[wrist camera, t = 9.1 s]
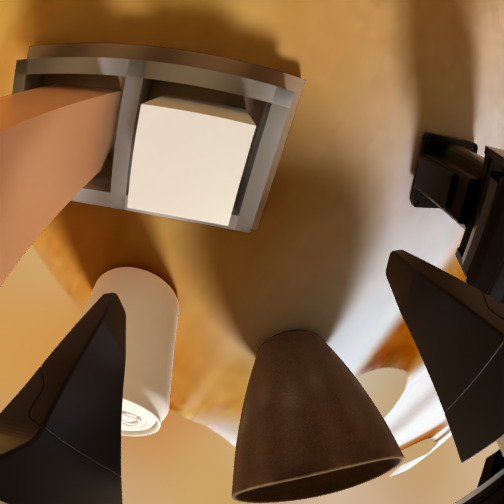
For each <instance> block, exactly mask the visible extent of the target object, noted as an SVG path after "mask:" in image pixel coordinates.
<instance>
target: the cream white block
mask: <svg viewBox="0 0 504 504" xmlns="http://www.w3.org/2000/svg"><path fill="white" fill-rule="evenodd" d="M255 128H256V125H255V123H254V122H253V120H252V118H251V117H250V115H249V114H248V112H247V110H245V109H241V108H237V107H232V106H228V105H223V104H219V103H214V102H209V101H204V100H198V99H193V98H187V97H182V96H175V95H169V94H165V95H163V96H160V97H157V98H155V99H152V100H150V101H147V102H145V103H143V104H141V108H140V113H139V119H138V125H137V131H136V137H135V144H134V151H133V158H132V166H131V174H130V183H129V193H128V204H127V208H132V209H137V210H143V211H149V212H154V213H160V214H165V215H171V216H176V217H182V218H187V219H193V220H198V221H203V222H209V223H214V224H219V225H225V226H228V224H229V221H230V217H231V213H232V210H233V206H234V202H235V199H236V195H237V191H238V188H239V184H240V180H241V177H242V173H243V170H244V166H245V163H246V159H247V156H248V152H249V149H250V145H251V142H252V138H253V135H254V131H255Z"/></svg>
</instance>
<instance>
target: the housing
mask: <svg viewBox="0 0 504 504" xmlns="http://www.w3.org/2000/svg"><path fill="white" fill-rule="evenodd" d="M305 81H306V80H305V79H302V78H299V77H296V76H293V75H290V74H286V73H283V72H280V71H276V70H273V69H269V68H266V67H262V66H258V65H254V64H251V63H247V62H242V61H238V60H234V59H229V58H225V57H220V56H215V55H210V54H204V53H199V52H193V51H186V50H180V49H172V48H164V47H156V46H145V45H133V44H116V43H65V44H48V45H36V46H29V51H28V56H27V59H25V60H17V63H16V69H15V76H14V84H13V93H12V94H15V93H18V92H22V91H27V90H31V89H35V88H40V87H45V86H50V85H55V84H60V85H74V86H85V87H95V88H104V89H112V90H119V91H121V95H120V99H119V104H118V109H117V114H116V119H115V124H114V130H113V135H112V141H111V148H110V154H109V161H108V164H107V165H106V166H105V167H104V168H103V169H102V170H101V171H100V172H99V173H98V174H97V175H96V176H94V177H93V178H92V179H91V180H90V181H89V182H88V183H87V184H86V185H85V186H84V187H83V188H82V189H81V190H80V191H79V192H78V193H77V194H76V195H75V196H74V198H73V199H72V200H71V201H75V202H81V203H87V204H93V205H99V206H105V207H110V208H116V209H122V210H128V211H133V212H139V213H145V214H150V215H156V216H162V217H167V218H173V219H178V220H184V221H189V222H194V223H200V224H205V225H210V226H216V227H221V228H226V229H232V230H237V231H242V232H247V233H250V232H251V229H255V230H257V229H258V226H259V223H260V220H261V216H262V213H263V210H264V207H265V204H266V201H267V198H268V195H269V192H270V189H271V185H272V182H273V179H274V176H275V173H276V170H277V167H278V164H279V161H280V158H281V155H282V151H283V148H284V145H285V142H286V139H287V136H288V133H289V130H290V127H291V124H292V121H293V118H294V114H295V111H296V108H297V105H298V102H299V99H300V96H301V93H302V90H303V87H304V84H305ZM165 94H169V95H175V96H182V97H187V98H193V99H198V100H204V101H209V102H214V103H219V104H223V105H228V106H232V107H237V108H241V109H245V110H247V112H248V114H249V115H250V117H251V118H252V120H253V122H254V123H255V125H256V128H255V131H254V135H253V138H252V142H251V145H250V149H249V152H248V156H247V159H246V163H245V166H244V170H243V173H242V177H241V180H240V184H239V188H238V191H237V195H236V199H235V202H234V206H233V210H232V213H231V217H230V221H229V224H228V226H225V225H219V224H214V223H209V222H203V221H198V220H193V219H187V218H182V217H176V216H171V215H165V214H160V213H154V212H149V211H143V210H137V209H132V208H127V204H128V193H129V183H130V174H131V166H132V158H133V151H134V144H135V137H136V131H137V125H138V119H139V113H140V108H141V104H143V103H145V102H147V101H150V100H152V99H155V98H157V97H160V96H163V95H165Z"/></svg>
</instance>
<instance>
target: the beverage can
mask: <svg viewBox="0 0 504 504" xmlns="http://www.w3.org/2000/svg"><path fill="white" fill-rule="evenodd" d="M112 292H114V293H116V294H117V295H118V297H119V299H120V301H121V303H122V305H123V308H124V310H125V313H126V363H125V375H124V387H123V402H122V422H121V435H126V436H145V435H150V434H153V433H155V432H157V431H158V430H159V429H160V426H161V421H163V420H164V418H165V417H166V416H167V414H168V411H169V402H170V390H171V378H172V367H173V357H174V348H175V338H176V330H177V321H178V313H179V303H178V300H177V297H176V295H175V293H174V291H173V290H172V289H171V287H170V286H169V285H168V284H167V283H166V282H165V281H164V280H162V279H161V278H160V277H158V276H156V275H155V274H153V273H151V272H148V271H146V270H143V269H139V268H134V267H120V268H115V269H112V270H109V271H107V272H105V273H104V274H103V275H101V276H100V277H99V279H98V280H97V282H96V284H95V286H94V288H93V290H92V292H91V295H90V297H89V299H88V301H87V304H86V306H85V308H84V311H83V313H82V316H81V318H82V317H83V316H84V315H85V314H86V313H87V311H88V310H89V309H90V308H91V307H92V306H93V305H94V304H95V303H96V302H97V300H98V299H99V298H100V297H101V296H102V295H103V294H105V293H112ZM81 318H80V319H81Z"/></svg>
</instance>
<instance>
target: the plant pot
mask: <svg viewBox="0 0 504 504" xmlns="http://www.w3.org/2000/svg"><path fill="white" fill-rule="evenodd" d="M403 461H404V456H403V454H402V452H401V450H400V448H399V446H398V444H397V442H396V440H395V438H394V437H393V435H392V433H391V431H390V429H389V427H388V426H387V424H386V422H385V420H384V419H383V417H382V415H381V414H380V412H379V411H378V409H377V407H376V406H375V405H374V403H373V401H372V400H371V398H370V397H369V395H368V394H367V393H366V391H365V390H364V388H363V387H362V386H361V384H360V383H359V381H358V380H357V379H356V377H355V376H354V375H353V373H352V372H351V371H350V370H349V368H348V367H347V366H346V365H345V363H344V362H343V361H342V360H341V359H340V358H339V357H338V355H337V354H336V353H335V352H334V351H333V350H332V349H331V348H330V347H329V346H328V345H327V344H326V343H325V342H324V341H323V340H322V338H321V337H319V336H318V335H317V334H315V333H313V332H309V331H302V330H296V331H289V332H284V333H281V334H278V335H276V336H274V337H272V338H270V339H269V340H267V341H266V342H265V343H264V344H263V345H262V346H261V347H260V349H259V351H258V354H257V357H256V359H255V363H254V366H253V369H252V372H251V376H250V379H249V383H248V387H247V391H246V395H245V399H244V404H243V408H242V413H241V419H240V424H239V430H238V437H237V443H236V451H235V462H234V474H233V486H232V498H233V499H234V500H236V501H240V502H248V503H274V502H286V501H294V500H301V499H307V498H313V497H318V496H322V495H326V494H330V493H334V492H338V491H342V490H345V489H348V488H351V487H354V486H357V485H360V484H363V483H365V482H367V481H370V480H372V479H375V478H377V477H379V476H381V475H383V474H385V473H387V472H389V471H391V470H392V469H394V468H396V467H397V466H399V465H400V464H401V463H402V462H403Z"/></svg>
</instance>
